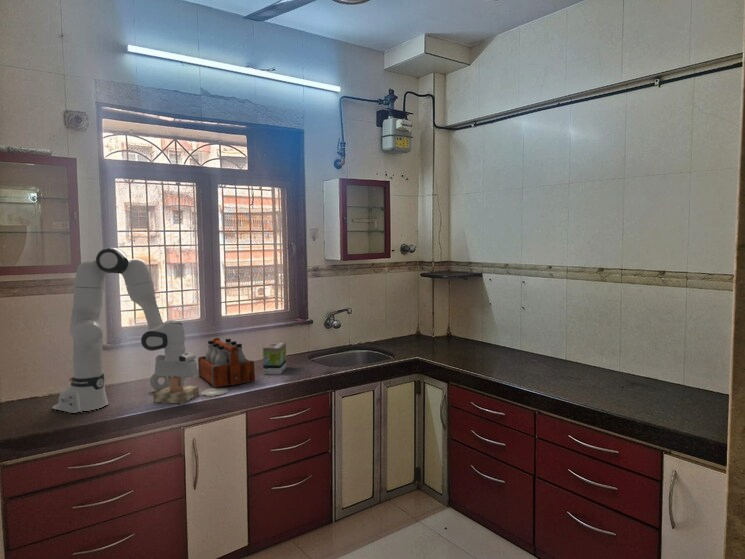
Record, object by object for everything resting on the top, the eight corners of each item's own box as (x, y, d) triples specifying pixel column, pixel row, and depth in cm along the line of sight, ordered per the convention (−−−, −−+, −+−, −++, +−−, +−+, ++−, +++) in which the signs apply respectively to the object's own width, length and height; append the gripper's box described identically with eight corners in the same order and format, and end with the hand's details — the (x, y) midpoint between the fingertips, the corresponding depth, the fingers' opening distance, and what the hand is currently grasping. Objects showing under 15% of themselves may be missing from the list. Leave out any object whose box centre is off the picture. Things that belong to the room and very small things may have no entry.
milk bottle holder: (215, 389, 242) (214, 349, 241) (196, 374, 271) (195, 339, 270) (257, 382, 254) (256, 344, 253) (235, 369, 283) (234, 335, 282)
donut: (172, 388, 247) (172, 368, 246) (172, 390, 243) (171, 370, 242) (150, 390, 243) (149, 370, 243) (150, 392, 240) (149, 372, 239)
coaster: (196, 395, 235) (196, 394, 235) (210, 388, 247) (210, 386, 247) (219, 397, 232) (218, 396, 232) (232, 389, 244) (232, 388, 244)
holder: (153, 402, 226) (153, 393, 226) (173, 393, 239) (173, 384, 239) (180, 404, 222) (180, 395, 222) (199, 395, 236) (198, 386, 236)
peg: (170, 399, 229) (169, 378, 229) (175, 396, 233) (175, 375, 233) (178, 400, 228) (177, 378, 228) (183, 397, 232) (182, 376, 232)
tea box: (281, 374, 271) (280, 347, 270) (262, 374, 271) (262, 347, 270) (286, 367, 286) (286, 342, 285) (269, 367, 286) (268, 342, 285)
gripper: (151, 356, 229) (152, 386, 230) (190, 358, 224) (191, 388, 225) (160, 353, 235) (161, 382, 236) (198, 355, 230) (199, 384, 231)
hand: (176, 385), depth 230 cm, fingers closed on peg, 4 cm apart
